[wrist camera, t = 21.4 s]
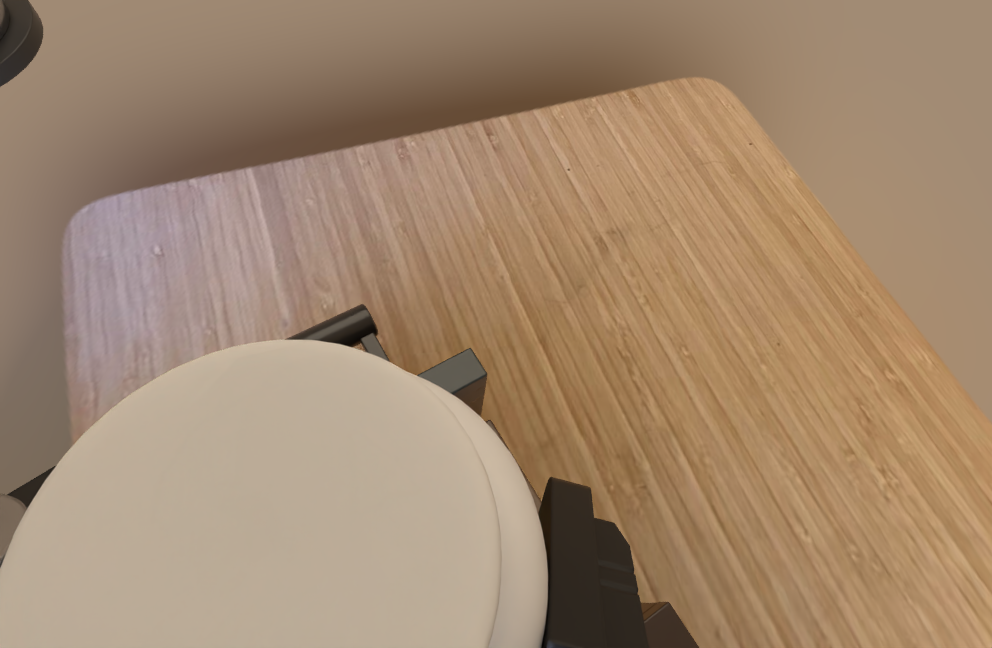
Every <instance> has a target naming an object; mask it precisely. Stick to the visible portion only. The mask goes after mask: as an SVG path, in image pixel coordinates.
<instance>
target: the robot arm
mask: <svg viewBox="0 0 992 648" xmlns="http://www.w3.org/2000/svg"><path fill="white" fill-rule="evenodd" d="M8 24H9V11H8V9H7V6H6V5H5V3H4V2H3V1H2V0H0V40H1V38H2V37H3V35H4V34H5V32H6V30H7V28H8ZM56 466H57V465H56ZM56 466H54V467H53V468H51V469H49V470H48V471H46V472H44V473H43V474H41V475H39V476H38V477H36V478H34V479H33V480H31V481H30V482H28V483H26V484H24V485H22V486H21V487H19V488H17V489H16V490H14V491H12V492H11V493H9V494H7V495H5V494H0V567H1V565H2V563H3V560H4V558H5V555H6V553H7V550H8V548H9V545H10V543H11V540H12V538H13V535H14V533H15V531H16V529H17V527H18V525H19V523H20V521H21V519H22V517H23V516H24V514H25V512H26V510H27V509H28V507H29V505H30V504H31V502H32V500H33V499H34V497H35V496H36V494H37V492H38V491H39V489H40V488H41V486H42V485H43V483H44V482H45V480H46V479H47V477H48V476H49V475H50V473H51V472H52V471H53V470H54V468H55V467H56ZM538 516H539V520H540V524H541V527H542V531H543V537H544V543H545V549H546V555H547V568H548V603H547V614H546V623H545V631H544V636H543V641H542V647H541V648H649V645H648V640H647V634H646V629H645V624H644V618H643V613H642V608H641V602H640V597H639V595H638V587H637V581H636V576H635V574H634V565H633V560H632V555H631V550H630V545H629V544H628V543H627V541H626V540H625V538H624V537H623V535H622V534H621V532H620V531H619V529H618V528H617V526H616V525H615V523H613V522H609V521H605V520H601V519H597V518H594V514H593V504H592V494H591V488H590V487H588V486H584V485H580V484H576V483H572V482H568V481H564V480H561V479H557V478H553V477H550V478H549V480H548V483H547V485H546V489H545V492H544V495H543V499H542V502H541V506H540V509H539V513H538Z"/></svg>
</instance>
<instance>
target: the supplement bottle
mask: <svg viewBox="0 0 992 648" xmlns="http://www.w3.org/2000/svg"><path fill="white" fill-rule="evenodd" d="M547 603H548V568H547V555H546V549H545V543H544V537H543V531H542V527H541V524H540V520H539V516H538V513H537V509H536V506H535V503H534V500H533V497H532V495H531V492H530V490H529V487H528V485H527V483H526V480H525V478H524V476H523V474H522V472H521V470H520V468H519V466H518V464H517V463H516V461H515V459H514V458H513V456H512V454H511V453H510V451H509V450H508V449H507V448H506V446H505V445H504V444H503V442H502V441H501V440H500V438H499V437H498V436H497V434H496V433H495V432H494V431H493V430H492V429H491V427H490V426H489V425H488V424H487V423H486V422H485V421H484V420H483V419H482V418H481V417H480V416H479V415H478V414H477V413H476V412H474V411H473V410H472V409H471V408H470V407H469V406H467V405H466V404H465V403H464V402H463V401H461V400H460V399H458V398H457V397H456V396H454V395H452V394H451V393H449V392H447V391H446V390H444V389H442V388H441V387H439V386H437V385H435V384H433V383H431V382H429V381H427V380H425V379H423V378H421V377H418V376H416V375H414V374H412V373H408V372H406V371H404V370H403V369H401V368H399V367H397V366H396V365H394V364H392V363H390V362H389V361H387V360H385V359H383V358H381V357H378V356H375V355H373V354H370V353H367V352H364V351H362V350H359V349H356V348H352V347H348V346H345V345H341V344H336V343H329V342H323V341H316V340H271V341H263V342H255V343H249V344H244V345H239V346H234V347H230V348H227V349H223V350H220V351H217V352H213V353H210V354H207V355H204V356H202V357H199V358H197V359H195V360H192V361H190V362H188V363H185V364H183V365H181V366H178V367H176V368H173V369H171V370H169V371H168V372H166V373H164V374H162V375H161V376H159V377H157V378H155V379H154V380H152V381H150V382H149V383H147V384H145V385H144V386H142V387H141V388H139V389H138V390H136V391H134V392H133V393H131V394H130V395H129V396H127V397H126V398H125V399H123V400H122V401H121V402H119V403H118V404H117V405H115V406H114V407H113V408H112V409H110V410H109V411H108V412H107V413H106V414H105V415H104V416H103V417H101V418H100V419H99V420H98V421H97V422H96V423H95V424H94V425H92V426H91V427H90V428H89V429H88V430H87V431H86V432H85V433H84V434H83V435H82V436H81V437H80V438H79V439H78V441H77V442H76V443H75V444H74V445H73V446H72V447H71V448H70V450H69V451H68V452H67V453H66V454H65V455H64V457H63V458H62V459H61V460H60V462H59V463H58V464H57V466H56V467H55V468H54V470H53V471H52V472H51V473H50V475H49V476H48V477H47V479H46V480H45V482H44V483H43V485H42V486H41V488H40V489H39V491H38V492H37V494H36V496H35V497H34V499H33V500H32V502H31V504H30V505H29V507H28V509H27V510H26V512H25V514H24V516H23V517H22V519H21V521H20V523H19V525H18V527H17V529H16V531H15V533H14V535H13V538H12V540H11V543H10V545H9V548H8V550H7V553H6V555H5V558H4V560H3V563H2V565H1V567H0V648H541V647H542V641H543V636H544V631H545V623H546V614H547Z"/></svg>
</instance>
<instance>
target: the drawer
mask: <svg viewBox="0 0 992 648" xmlns="http://www.w3.org/2000/svg"><path fill="white" fill-rule="evenodd" d="M377 335H378V330H377V327H376V325H375V322H374V320H373V318H372V316H371V314H370V313H369V311H368V309H367V308H366V306H365V305H364V304H361V305H359V306H356V307H354V308H352V309H350V310H348V311H346V312H343V313H341V314H339V315H337V316H335V317H333V318H330V319H328V320H326V321H324V322H322V323H320V324H317V325H315V326H313V327H311V328H309V329H307V330H304V331H302V332H300V333H298V334H296V335H294V336H291V337H289V338H287V339H285V340H316V341H323V342H329V343H336V344H341V345H345V346H348V347H354V346H356V345H359V344H362V347H363V349H364V350H365V352H367V353H370V354H373V355H375V356H378V357H381V358H383V359H385V360H387V361H389V359H388V357H387V355H386V354H385V352H384V350H383V348H382V346H381V345H380V343H379V341H378V339H377V338H376V336H377ZM389 362H390V361H389ZM390 363H391V362H390ZM417 376H418V377H421V378H423V379H425V380H427V381H429V382H431V383H433V384H435V385H437V386H439V387H441V388H442V389H444V390H446V391H447V392H449V393H451V394H452V395H454V396H456V397H457V398H458V399H460V400H461V401H463V402H464V403H465V404H466V405H467V406H469V407H470V408H471V409H472V410H473V411H474V412H476V413H477V414H478V415H479V416H480V417H481V411H482V405H483V399H484V393H485V387H486V381H487V372H486V371H485V369H484V368H483V366H482V365H481V363H480V361H479V360H478V358H477V357H476V355H475V354H474V352H473V350H472V349H471V348H469V349H467V350H465V351H463V352H461V353H459V354H457V355H455V356H453V357H451V358H449V359H447V360H445V361H444V362H442V363H440V364H438V365H436V366H434V367H432V368H430V369H428V370H426V371H424V372H422V373H421V374H419V375H417ZM486 423H487V424H488V425H489V426H490V427H491V429H492V430H493V431H494V432H495V433H496V434H497V436H498V437H499V438H500V440H501V441H502V442H503V444H504V445H505V446H506V448H507V449H508V450H509V448H508V447H507V445H506V444H505V442H504V440H503V439H502V437H501V436H500V434H499V432H498V431H497V429H496V428H495V426H494V424H493V423H492V421H491V420H488V421H486ZM509 451H510V450H509ZM510 453H511V452H510ZM511 454H512V453H511ZM512 456H513V455H512ZM513 458H514V457H513ZM514 459H515V458H514ZM515 461H516V460H515ZM516 463H517V461H516ZM517 464H518V463H517ZM518 466H519V465H518ZM519 468H520V466H519ZM520 470H521V472H522V474H523V476H524V478H525V480H526V483H527V485H528V487H529V490H530V492H531V495H532V497H533V500H534V503H535V506H536V509H537V513H539V509H540V506H541V500H540V499H539V497H538V495H537V494H536V492H535V490H534V489H533V487H532V486H531V484H530V482H529V481H528V479H527V478H526V476H525V474H524V473H523V471H522V469H521V468H520Z"/></svg>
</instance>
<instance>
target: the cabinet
mask: <svg viewBox="0 0 992 648" xmlns="http://www.w3.org/2000/svg"><path fill="white" fill-rule="evenodd" d="M641 608H642V613H643V618H644V624H645V629H646V634H647V640H648V645H649V648H699V647H698V645H697V644H696V642H695V641H694V639H693V638H692V636H691V635H690V633H689V632H688V630H687V629H686V627H685V626H684V624H683V623H682V621H681V619H680V618H679V616H678V615H677V613H676V612H675V610H674V609H673V607H672V606H671V604H670V603H669V602H658V603H641Z"/></svg>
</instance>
